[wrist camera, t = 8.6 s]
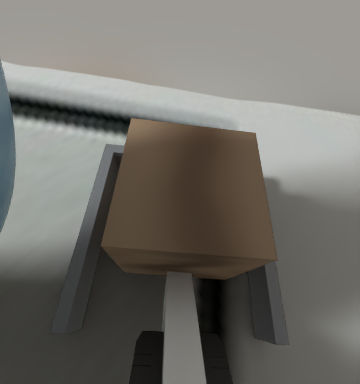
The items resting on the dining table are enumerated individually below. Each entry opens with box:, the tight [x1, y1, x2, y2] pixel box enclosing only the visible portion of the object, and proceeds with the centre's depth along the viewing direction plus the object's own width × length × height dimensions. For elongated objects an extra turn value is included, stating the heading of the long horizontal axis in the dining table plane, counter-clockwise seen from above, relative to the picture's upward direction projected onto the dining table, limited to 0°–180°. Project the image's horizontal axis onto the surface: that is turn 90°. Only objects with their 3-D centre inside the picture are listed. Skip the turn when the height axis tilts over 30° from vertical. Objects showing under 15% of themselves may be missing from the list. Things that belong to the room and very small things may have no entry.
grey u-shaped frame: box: [50, 144, 289, 345], centre depth 16 cm, size 14×14×3 cm
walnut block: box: [101, 118, 277, 280], centre depth 15 cm, size 8×8×8 cm
